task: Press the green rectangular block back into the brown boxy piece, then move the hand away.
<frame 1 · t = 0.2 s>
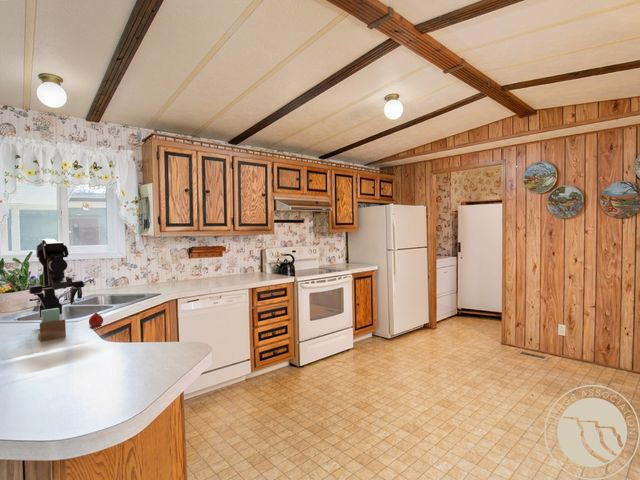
hand: (58, 306, 150), 15 cm above the counter, tool pointing down, fingers open, 9 cm apart
brown boxy piece: (50, 338, 152), on the counter
green rectangular block: (50, 323, 151), point 7 cm above the counter, slide at 0.0 cm
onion: (96, 328, 167), on the counter
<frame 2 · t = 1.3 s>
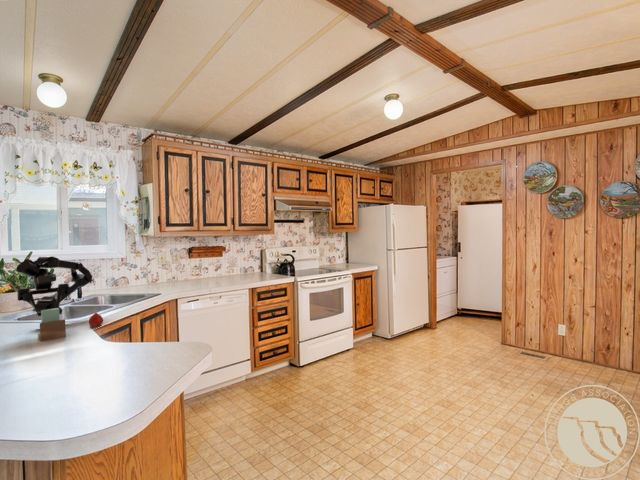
hand: (47, 306, 157), 13 cm above the counter, tool tilted 45°, fingers open, 8 cm apart
nothing on the counter moved.
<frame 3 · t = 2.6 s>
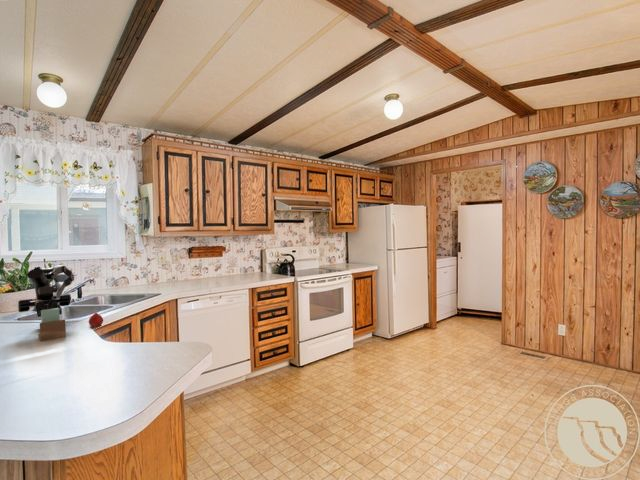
hand: (47, 317, 154), 9 cm above the counter, tool tilted 45°, fingers closed
nothing on the counter moved.
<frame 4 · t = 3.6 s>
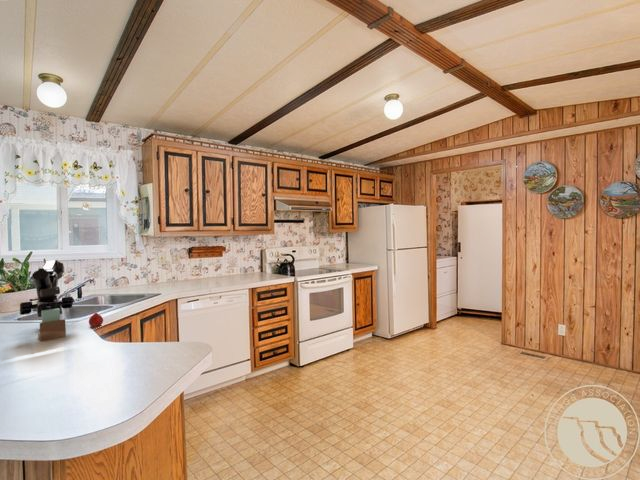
hand: (50, 320, 151), 8 cm above the counter, tool tilted 45°, fingers closed, pressing on green rectangular block
green rectangular block: (51, 323, 150), point 7 cm above the counter, slide at 1.2 cm, touching gripper
everything else where it was.
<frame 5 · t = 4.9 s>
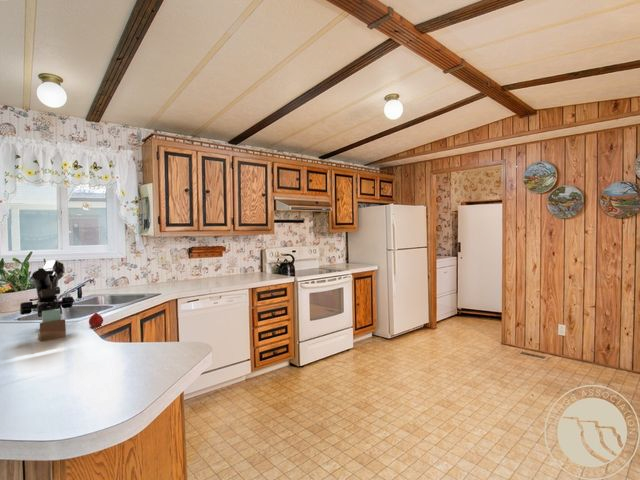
hand: (50, 320, 152), 8 cm above the counter, tool tilted 45°, fingers closed
green rectangular block: (51, 324, 149), point 7 cm above the counter, slide at 2.5 cm
everything else where it was.
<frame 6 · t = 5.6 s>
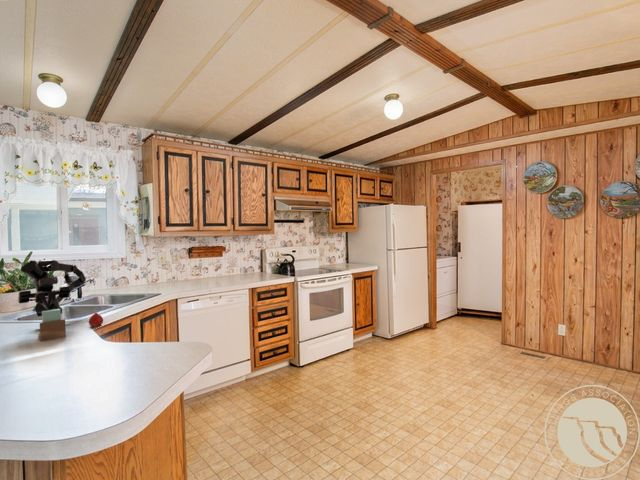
hand: (48, 308, 157), 12 cm above the counter, tool tilted 45°, fingers closed
nothing on the counter moved.
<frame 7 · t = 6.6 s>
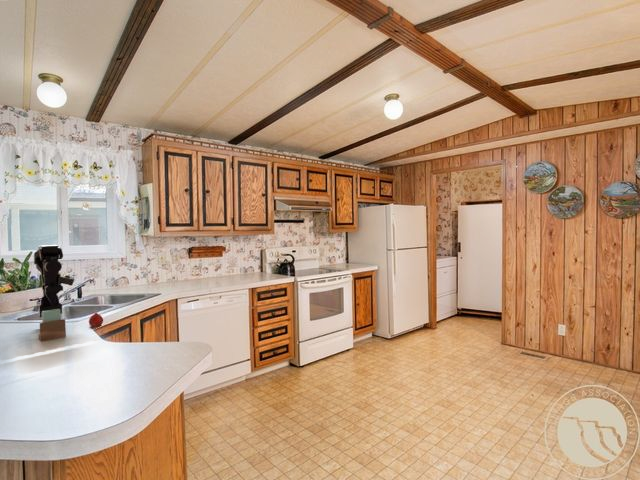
hand: (53, 305, 161), 13 cm above the counter, tool pointing down, fingers closed
nothing on the counter moved.
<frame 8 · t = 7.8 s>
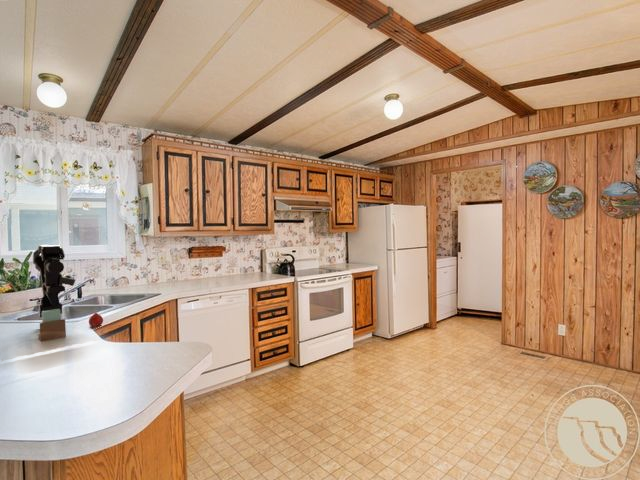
hand: (54, 305, 161), 13 cm above the counter, tool pointing down, fingers closed
nothing on the counter moved.
at the end: green rectangular block slide at 2.5 cm; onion moved 0.2 cm from its start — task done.
